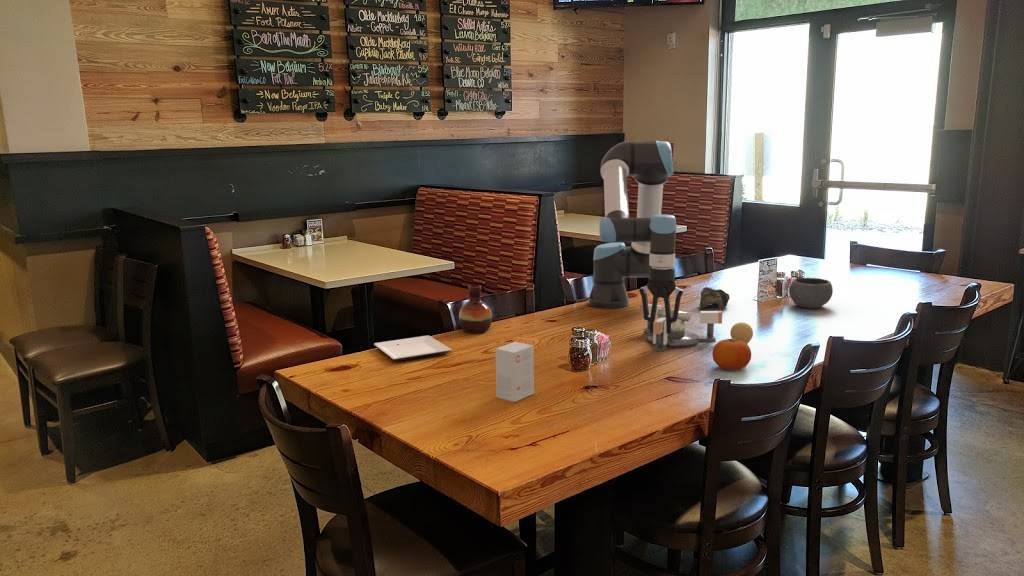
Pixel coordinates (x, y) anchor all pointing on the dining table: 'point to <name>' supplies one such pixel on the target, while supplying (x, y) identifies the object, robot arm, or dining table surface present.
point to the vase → (475, 312)
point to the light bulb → (742, 332)
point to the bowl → (810, 292)
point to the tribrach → (678, 333)
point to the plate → (412, 348)
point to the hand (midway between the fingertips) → (660, 342)
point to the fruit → (731, 354)
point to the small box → (514, 371)
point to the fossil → (714, 298)
